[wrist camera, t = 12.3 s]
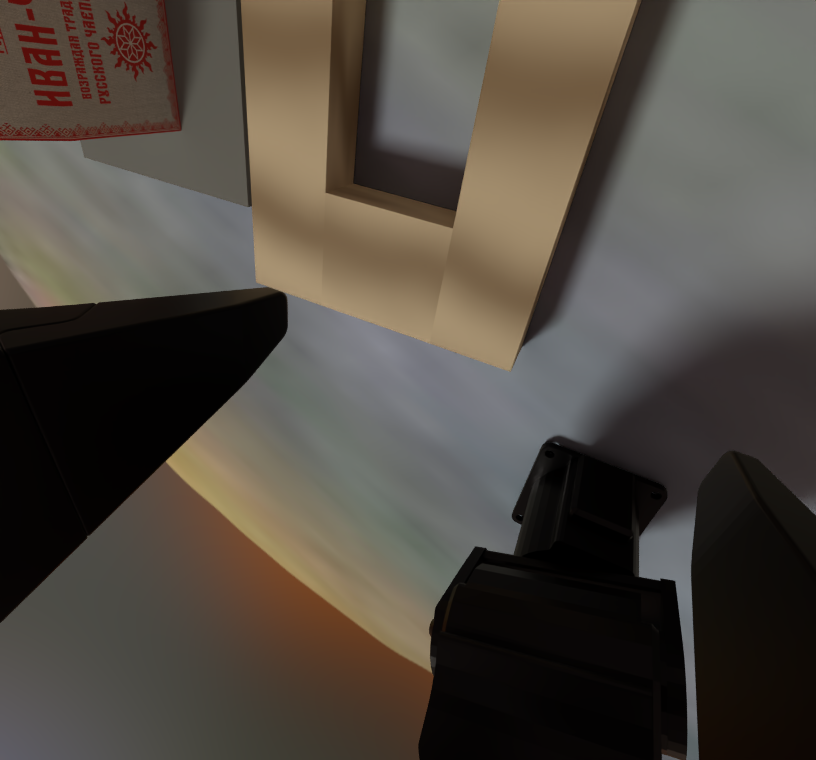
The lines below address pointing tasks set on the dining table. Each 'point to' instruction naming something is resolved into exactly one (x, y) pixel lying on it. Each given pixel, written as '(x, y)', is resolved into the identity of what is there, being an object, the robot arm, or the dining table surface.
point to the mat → (196, 108)
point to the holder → (409, 219)
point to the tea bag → (85, 70)
